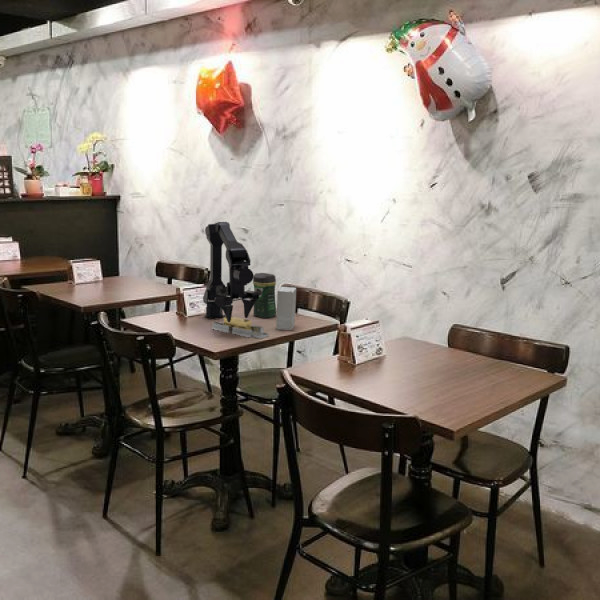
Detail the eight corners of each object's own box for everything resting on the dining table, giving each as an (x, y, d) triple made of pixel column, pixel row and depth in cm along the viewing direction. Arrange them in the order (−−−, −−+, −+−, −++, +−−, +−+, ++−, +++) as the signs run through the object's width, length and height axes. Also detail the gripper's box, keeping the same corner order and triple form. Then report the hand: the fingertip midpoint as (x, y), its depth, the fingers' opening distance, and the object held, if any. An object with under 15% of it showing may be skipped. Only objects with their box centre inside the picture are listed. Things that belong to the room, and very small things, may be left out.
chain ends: (227, 325, 262) (227, 319, 262) (271, 335, 247) (271, 328, 247) (212, 329, 256) (212, 322, 256) (256, 339, 241) (256, 332, 241)
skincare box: (279, 325, 264) (279, 286, 261) (296, 325, 263) (297, 286, 260) (275, 329, 256) (275, 290, 253) (293, 330, 255) (293, 290, 252)
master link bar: (229, 325, 258) (229, 316, 257) (251, 330, 250) (251, 320, 250) (223, 327, 256) (223, 317, 255) (246, 332, 248) (245, 321, 247)
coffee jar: (279, 316, 280) (279, 273, 276) (265, 319, 274) (265, 275, 271) (264, 313, 286) (263, 270, 283) (250, 315, 281) (249, 272, 277)
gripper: (239, 274, 261) (240, 313, 264) (204, 280, 247) (205, 321, 250) (259, 277, 254) (260, 317, 257) (224, 283, 240) (225, 325, 243)
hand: (237, 319), depth 252 cm, fingers open, 9 cm apart
